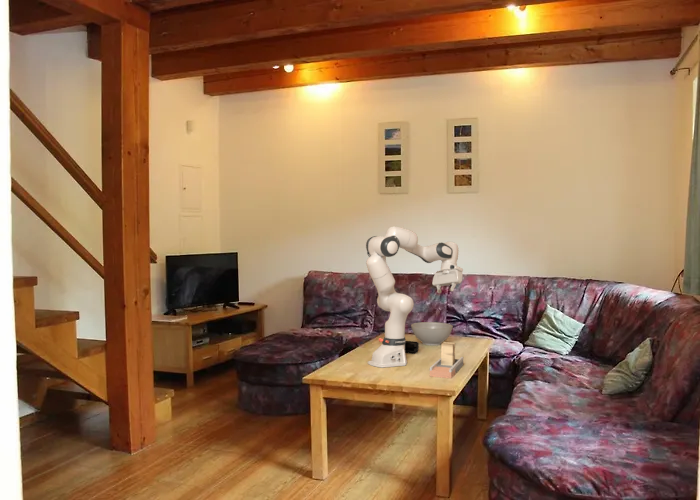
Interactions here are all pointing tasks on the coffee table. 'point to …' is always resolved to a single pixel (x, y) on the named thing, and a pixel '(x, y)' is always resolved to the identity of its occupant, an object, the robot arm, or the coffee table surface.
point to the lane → (445, 369)
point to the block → (447, 353)
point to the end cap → (411, 347)
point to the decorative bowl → (431, 332)
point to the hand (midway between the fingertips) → (445, 292)
